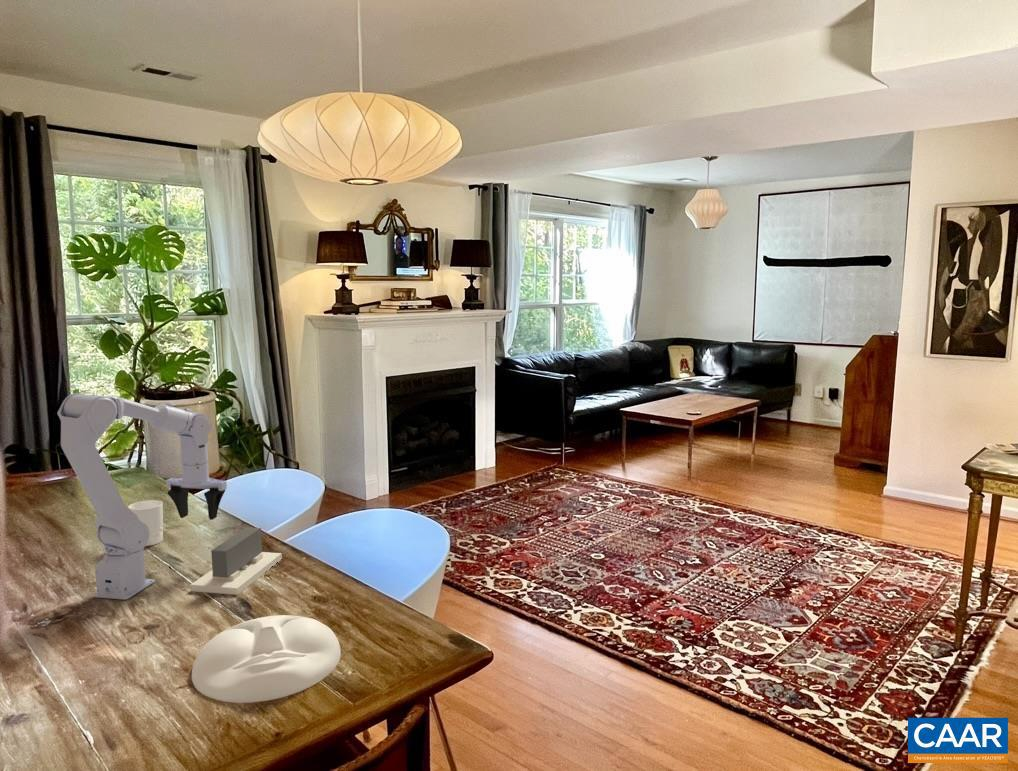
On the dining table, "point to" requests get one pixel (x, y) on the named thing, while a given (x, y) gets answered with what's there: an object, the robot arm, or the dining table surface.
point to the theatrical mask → (265, 659)
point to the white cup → (150, 518)
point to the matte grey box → (236, 552)
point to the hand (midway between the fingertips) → (198, 517)
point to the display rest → (237, 576)
